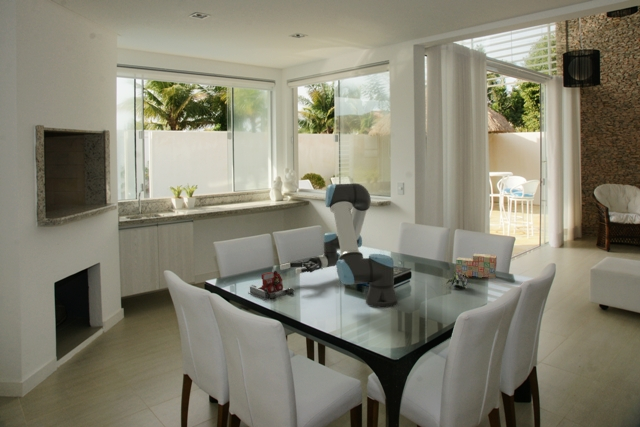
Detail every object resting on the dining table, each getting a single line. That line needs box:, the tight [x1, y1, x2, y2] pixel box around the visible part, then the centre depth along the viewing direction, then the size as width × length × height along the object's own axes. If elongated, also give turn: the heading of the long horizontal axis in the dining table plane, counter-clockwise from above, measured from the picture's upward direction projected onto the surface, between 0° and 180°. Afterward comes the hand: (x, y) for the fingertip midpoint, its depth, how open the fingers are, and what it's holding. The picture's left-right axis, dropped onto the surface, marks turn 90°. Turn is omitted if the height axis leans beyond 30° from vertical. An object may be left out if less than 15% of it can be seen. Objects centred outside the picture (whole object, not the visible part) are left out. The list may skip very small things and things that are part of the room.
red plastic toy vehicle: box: [261, 270, 284, 293], centre depth 244 cm, size 7×12×10 cm, turn 131°
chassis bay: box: [248, 284, 294, 300], centre depth 244 cm, size 20×18×4 cm
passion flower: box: [445, 269, 470, 290], centre depth 245 cm, size 11×11×12 cm
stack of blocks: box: [455, 253, 498, 279], centre depth 268 cm, size 21×6×12 cm, turn 64°
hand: (287, 269), depth 250 cm, fingers open, 13 cm apart
